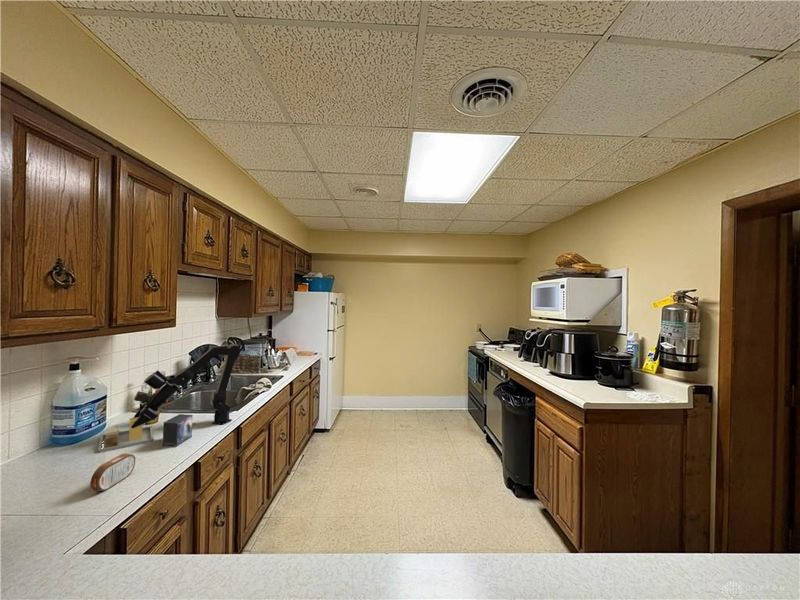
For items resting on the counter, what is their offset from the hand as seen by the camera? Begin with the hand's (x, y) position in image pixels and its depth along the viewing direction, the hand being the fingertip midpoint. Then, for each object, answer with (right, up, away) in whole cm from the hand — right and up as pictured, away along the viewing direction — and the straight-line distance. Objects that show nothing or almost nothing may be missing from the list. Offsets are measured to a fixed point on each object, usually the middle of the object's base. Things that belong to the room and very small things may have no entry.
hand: (131, 424), depth 148 cm
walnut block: (-3, -6, -7) cm, 10 cm away
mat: (+9, -7, +15) cm, 19 cm away
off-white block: (-8, -6, -1) cm, 10 cm away
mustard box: (+1, -6, +1) cm, 7 cm away
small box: (+21, -8, -1) cm, 22 cm away
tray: (-1, -7, -1) cm, 7 cm away
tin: (+21, -8, -34) cm, 41 cm away
